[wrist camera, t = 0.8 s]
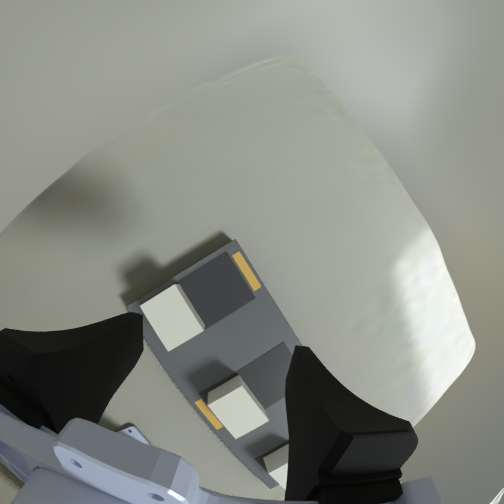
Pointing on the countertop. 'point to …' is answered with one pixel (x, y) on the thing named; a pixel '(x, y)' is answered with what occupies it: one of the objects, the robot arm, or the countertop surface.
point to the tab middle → (236, 407)
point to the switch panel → (231, 348)
